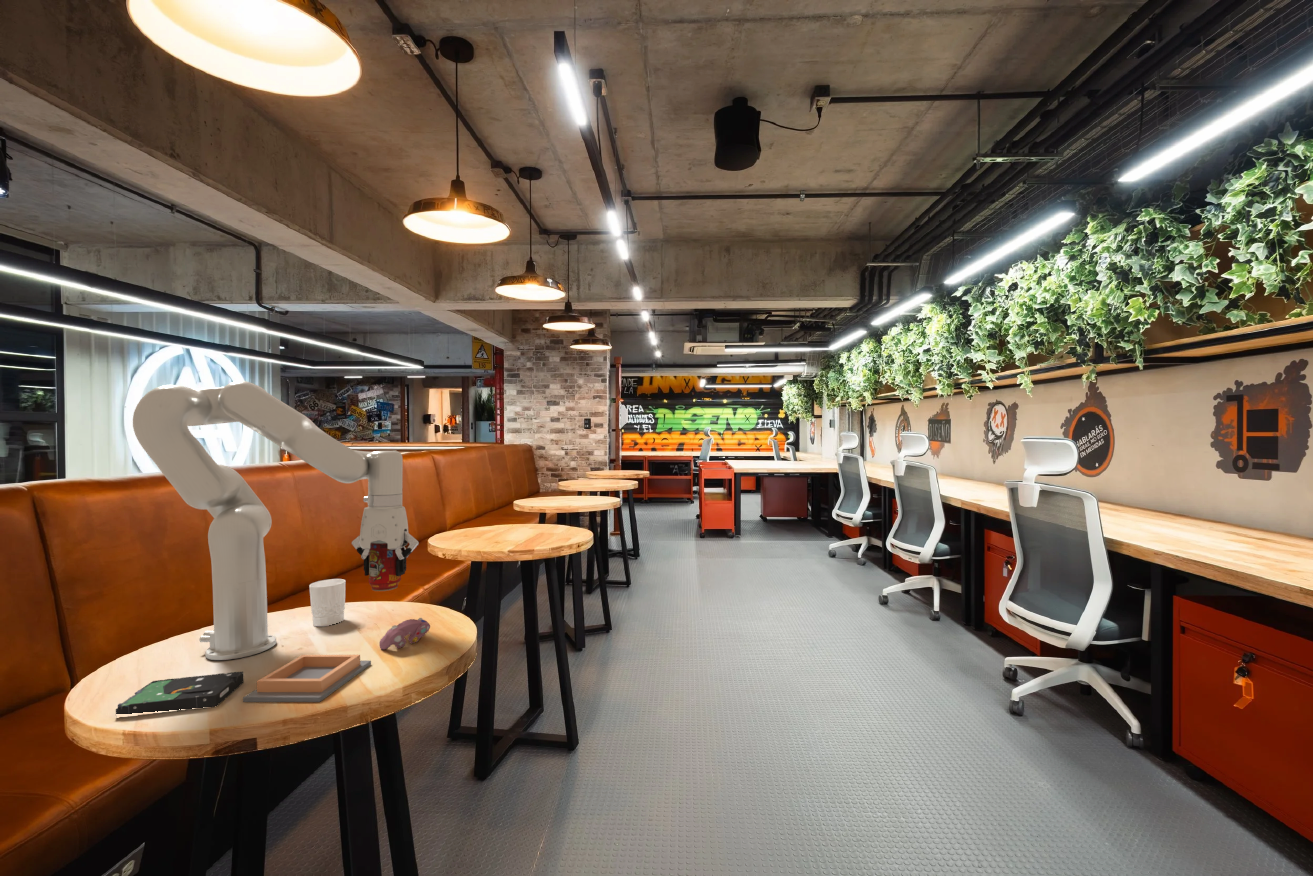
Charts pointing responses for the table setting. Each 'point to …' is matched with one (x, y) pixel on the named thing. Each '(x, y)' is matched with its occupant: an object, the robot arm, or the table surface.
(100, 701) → the table surface
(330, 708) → the table surface
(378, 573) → the soda can
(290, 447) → the robot arm
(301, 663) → the cradle jig
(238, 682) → the disk drive
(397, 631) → the video game controller
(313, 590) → the white cup
